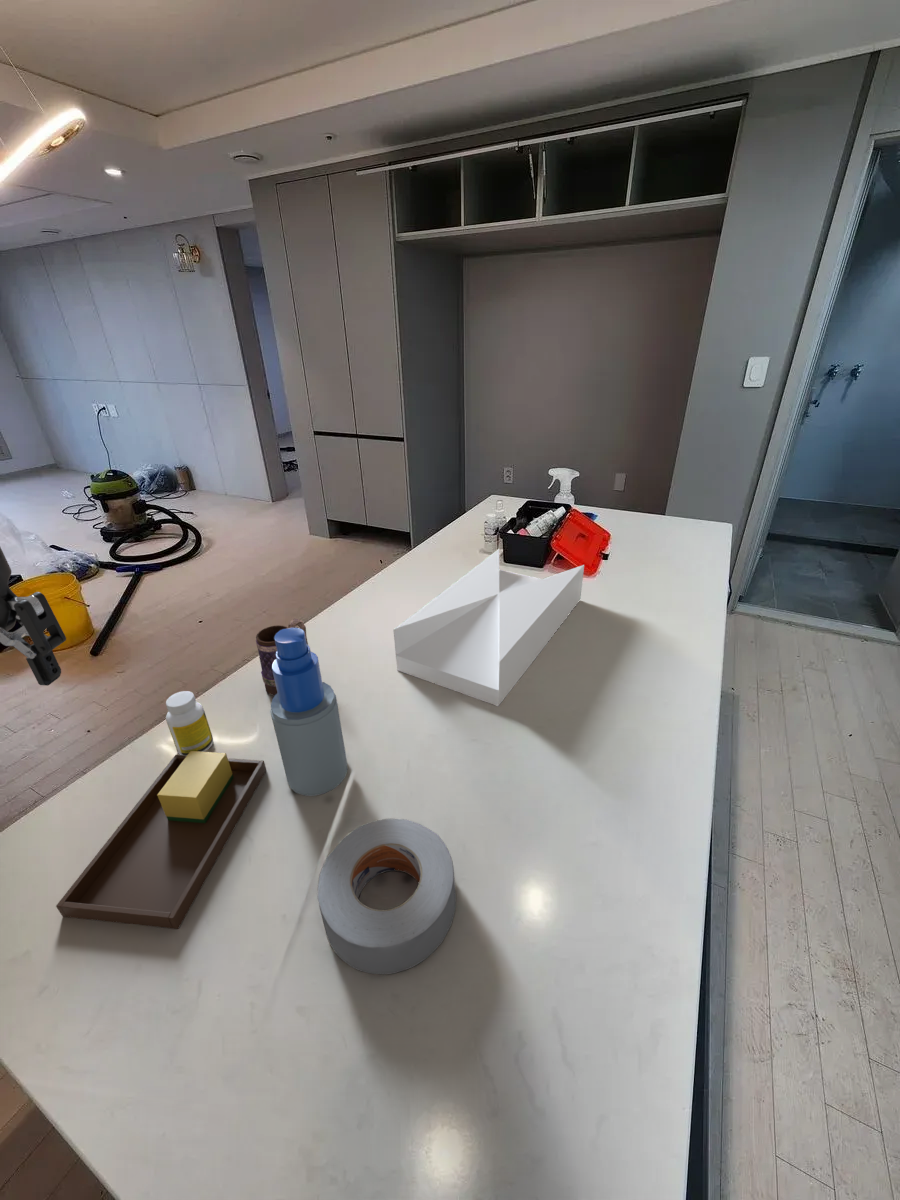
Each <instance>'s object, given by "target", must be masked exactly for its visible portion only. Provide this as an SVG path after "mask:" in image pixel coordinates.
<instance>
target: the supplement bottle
mask: <svg viewBox="0 0 900 1200" xmlns="http://www.w3.org/2000/svg"><path fill="white" fill-rule="evenodd" d="M165 706H166V709H167V713H166V715H165V721H166V724H167V728H168V729H169V732H170V735H171V738H172V740H173V744H174V746H175V749H176V752H177V754H178V755H185V756H187V755H188V754H189V752H190V751H200V752H206V751H208V750H210V748H211V747H212V746H213V743H214V736H213V733H212V731H211V727H210V724H209V720H208V718H207V715H206V712H205V709H204V706H203V705H202V704H201V703H200V702H198V701H197V700H196V696H195V694H194V693H193V692H192V691H189V690H182V691H178V692H175V693H173V694H171V695H170V696H169V697H168V698H167V699H166V701H165Z"/></svg>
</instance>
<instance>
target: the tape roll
mask: <svg viewBox="0 0 900 1200" xmlns="http://www.w3.org/2000/svg"><path fill="white" fill-rule="evenodd" d="M392 871H396V872H403V873H406V874H408V875H409V876H411V877H412V878H414V879H415V880H416V882H417V883H418V885H417V886H416V887H417V888H416V889H415V890H414V892H413V893H412V895H411V896H410V897H409V898H408V899H407V900H406V901H405V902H403V903H402V904H400V905H398V906H395V907H392V908H387V909H376V908H372V907H369V906H367V905H365V904H364V903H362V902H361V901H360V900H359V898H360V895H361V893H362V891H363V889H364V888H365V886H366V885H367V884H368V883H369V882H370V881H371V880H372V879H373V878H375V877H377V876H378V875H380V874H383V873H386V872H392ZM317 882H318V883H317V901H318V902H317V903H318V907H319V912H320V916H321V920H322V923H323V927H324V932H325V936H326V938H327V941H328V942H329V944H330V947H331V948H332V950H333V951H334V952H335V954H336V955H337V956H338V957H339V958H340V959H341V960H342V961H343V962H344V963H345V964H347V965H348V966H350V967H351V968H354V969H356V970H357V971H361V972H364V973H367V974H373V975H389V974H390V975H391V974H396V973H400V972H403V971H406V970H409V969H411V968H413V967H415V966H417V965H419V964H420V963H422V962H423V961H425V960H426V959H427V958H428V957H430V956H431V955H432V954H433V953H434V952H435V951H436V950H437V949H438V947H439V946H440V945H441V944H442V943H443V941H444V940H445V938H446V935H447V934H448V932H449V931H450V928H451V925H452V923H453V920H454V916H455V911H456V904H457V897H456V879H455V867H454V863H453V857H452V855H451V852H450V850H449V848H448V846H447V844H446V843H445V842H444V840H443V839H442V838H441V836H440V835H439V834H438V833H437V832H435V831H434V830H432V829H430V828H429V827H427V826H424V825H423V824H421V823H418V822H415V821H413V820H409V819H405V818H395V817H391V818H389V817H388V818H383V819H377V820H373V821H371V822H367V823H365V824H363V825H360V826H358V827H357V828H355V829H353V830H352V831H351V832H349V833H348V834H346V835H345V836H344V837H343V838H342V839H341V841H340V842H339V843H338V844H337V845H336V846H335V847H334V849H333V850H332V851H331V852H330V853H329V855H327V857H326V859H325V860H324V863H323V866H322V868H321V870H320V873H319V877H318V881H317Z"/></svg>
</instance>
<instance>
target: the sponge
mask: <svg viewBox="0 0 900 1200" xmlns="http://www.w3.org/2000/svg"><path fill="white" fill-rule="evenodd" d="M228 758H229V757H228V755H227V753H226V752H216V751H215V752H213V751H212V752H211V751H204V752H200V751H190V752H189V754H188V755H187V756H186V758H185V759H184V760H183V762H182V763H181V764H180V765H179V767H178V768H177V769H176V771H175V772H174V773H173V775H172V776H171V777H170V779H169V780H168V781H167V783H166V784H165V785H164V787H163V788H162V789H161V790H160V792H159V793H158V794H157V796H158V798H159V801H160V803H161V805H162V808H163V810H164V812H165V815H166V816H167V819H168V820H171V821H183V822H196V823H206V822H207V820H208V818H209V817H210V815H211V814H212V812H213V810H214V809H215V807H216V805H217V804H218V802H219V801H220V799H221V797H222V796H223V794H224V793H225V791H226V789H227V788H228V786H229V784H230V783H231V781H232V780H233V778H234V777H233V774H232V771H231V767H230V764H229V761H228Z"/></svg>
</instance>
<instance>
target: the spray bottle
mask: <svg viewBox="0 0 900 1200" xmlns="http://www.w3.org/2000/svg"><path fill="white" fill-rule="evenodd" d="M274 639H275V644H276V648H277V651H276V660H275V661H274V662H273V664H272V671H273V675H274V680H275V684H276V688H277V694H276V695H275V696H274V695H273V697H272V700H271V703H270V716H271V721H272V725H273V730H274V733H275V737H276V741H277V745H278V750H279V753H280V757H281V761H282V765H283V769H284V773H285V778H286V781H287V784H288V786H289V789H291V790H292V791H293V792H295V794H299V795H302V796H307V797H309V796H310V797H315V796H319V795H324V794H327V793H328V792H330V791H332V790H334V789H336V787H338V786H339V785H340V784H341V783H342V782H343V780H344V779H345V778H346V776H347V773H348V770H349V769H348V760H347V753H346V748H345V743H344V742H345V741H344V736H343V730H342V724H341V723H342V722H341V718H340V717H341V716H340V711H339V706H338V705H339V704H338V700H337V695H336V693H335V691H334V689H333V688H332V686H331V685H329V684H328V683H326V682H325V681H323V678H322V674H321V672H322V671H321V668H320V662H319V657H318V656H317V654H316V653H315V652H313V651H311V647H310V645H309V644H308V645H307V643H306V637H305V632H304V631H303V630H302V629H300V628H299V627H295V628H286V629H282V630H280V631H279V632H277V633H276V635H275V637H274Z"/></svg>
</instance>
